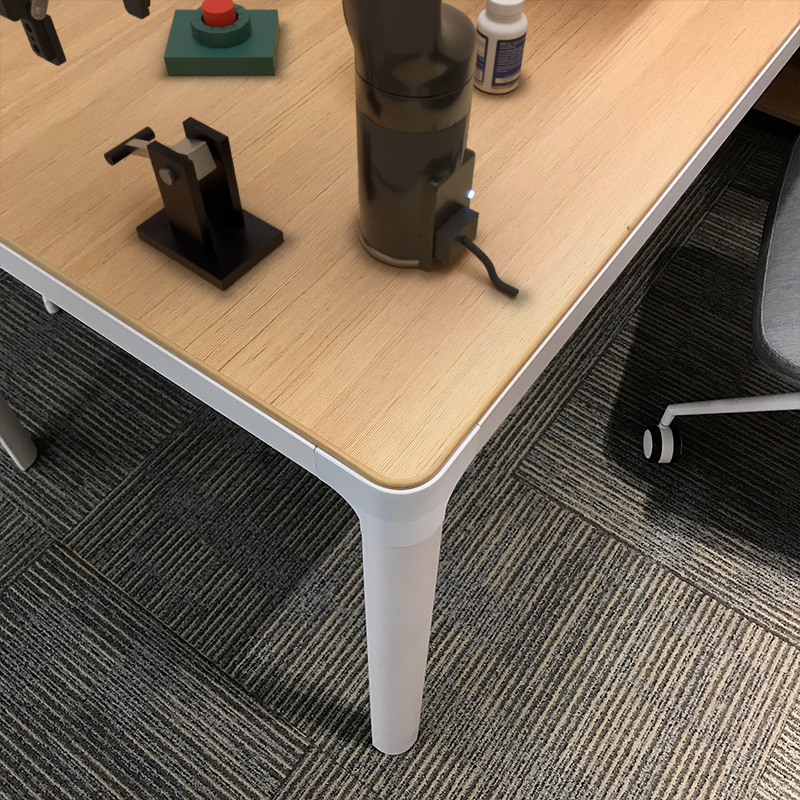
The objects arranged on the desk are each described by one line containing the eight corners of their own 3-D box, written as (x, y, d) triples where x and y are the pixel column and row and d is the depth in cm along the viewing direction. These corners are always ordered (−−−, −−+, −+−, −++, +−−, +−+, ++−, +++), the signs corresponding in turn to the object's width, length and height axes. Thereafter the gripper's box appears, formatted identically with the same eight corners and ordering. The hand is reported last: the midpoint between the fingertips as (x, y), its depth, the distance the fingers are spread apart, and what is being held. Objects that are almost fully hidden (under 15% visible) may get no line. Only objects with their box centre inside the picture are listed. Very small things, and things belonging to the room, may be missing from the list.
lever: (111, 171, 69) (98, 146, 67) (152, 143, 71) (141, 119, 70) (186, 190, 63) (174, 163, 61) (229, 159, 65) (218, 133, 64)
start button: (237, 11, 87) (235, -4, 86) (235, 28, 85) (232, 13, 84) (205, 11, 87) (203, -4, 86) (202, 28, 85) (199, 13, 84)
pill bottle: (524, 74, 88) (539, -12, 80) (509, 100, 85) (523, 13, 77) (480, 63, 89) (490, -23, 81) (464, 87, 86) (472, 1, 78)
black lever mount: (138, 237, 71) (103, 138, 63) (200, 192, 75) (176, 93, 66) (223, 291, 68) (200, 194, 59) (284, 241, 72) (270, 143, 63)
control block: (279, 27, 92) (275, -7, 89) (275, 75, 87) (270, 41, 83) (179, 27, 92) (171, -7, 89) (168, 75, 86) (159, 41, 83)
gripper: (-45, -168, 43) (58, 95, 56) (144, -234, 50) (196, 14, 63) (-124, -197, 45) (-7, 61, 58) (67, -257, 52) (133, -13, 65)
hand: (98, 37), depth 61 cm, fingers open, 8 cm apart
